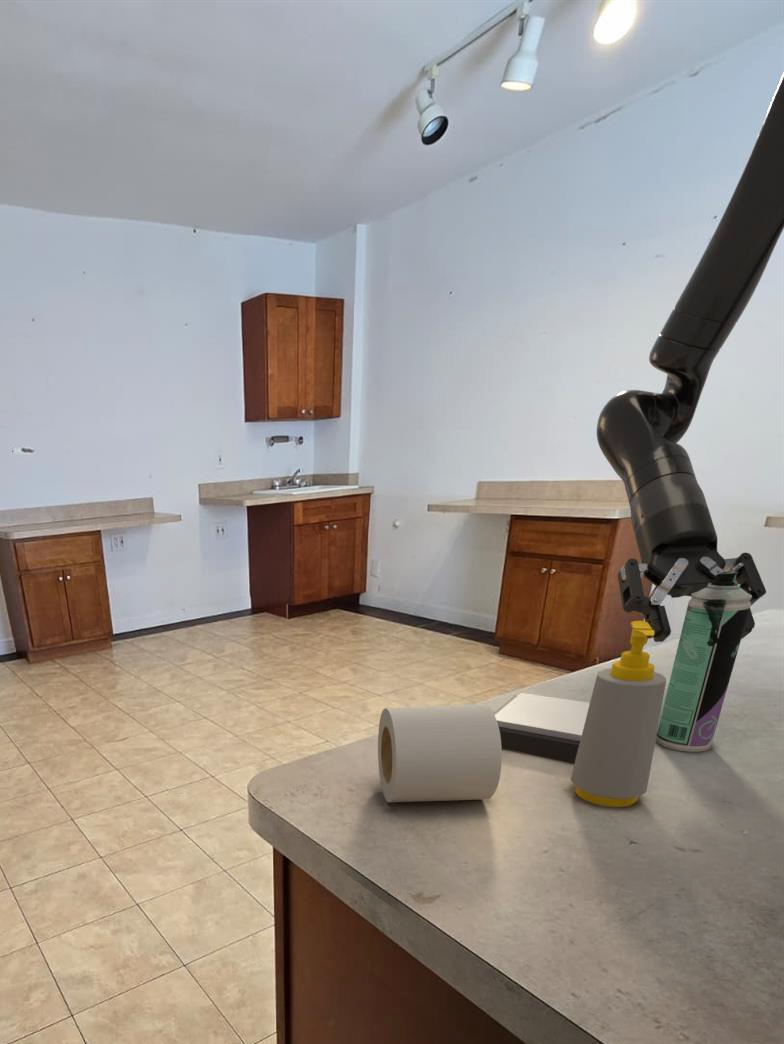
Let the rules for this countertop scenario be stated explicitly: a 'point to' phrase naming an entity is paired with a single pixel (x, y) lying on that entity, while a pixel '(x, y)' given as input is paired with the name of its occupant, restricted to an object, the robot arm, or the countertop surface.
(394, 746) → the toilet paper
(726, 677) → the spray can
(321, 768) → the countertop surface
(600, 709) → the soap bottle
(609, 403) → the robot arm
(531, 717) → the scale
